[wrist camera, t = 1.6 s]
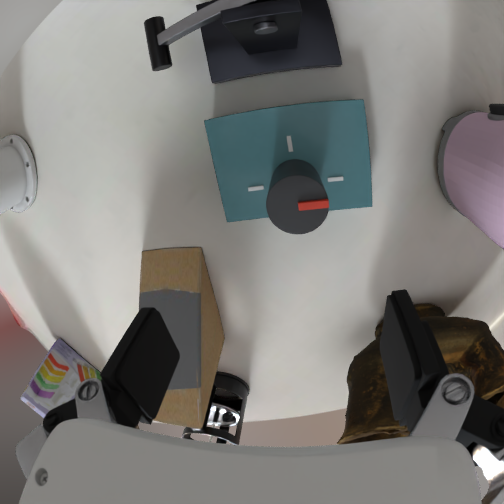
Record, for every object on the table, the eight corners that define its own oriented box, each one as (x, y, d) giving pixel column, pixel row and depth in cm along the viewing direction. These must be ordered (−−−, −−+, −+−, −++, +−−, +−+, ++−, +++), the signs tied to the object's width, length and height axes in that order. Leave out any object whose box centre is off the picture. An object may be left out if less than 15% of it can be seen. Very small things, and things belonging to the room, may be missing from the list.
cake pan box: (125, 390, 54) (97, 452, 38) (116, 393, 56) (89, 451, 40) (61, 335, 48) (20, 394, 32) (55, 341, 49) (17, 396, 34)
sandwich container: (203, 245, 32) (152, 340, 19) (227, 339, 39) (203, 430, 26) (140, 250, 34) (74, 330, 21) (173, 337, 41) (138, 418, 28)
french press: (255, 401, 47) (238, 513, 27) (209, 401, 49) (182, 504, 30) (238, 364, 42) (209, 501, 22) (186, 365, 44) (144, 486, 24)
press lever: (167, 70, 20) (145, 72, 18) (158, 24, 17) (136, 24, 16) (294, 22, 13) (274, 15, 11) (278, -35, 10) (257, -46, 9)
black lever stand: (215, 83, 23) (165, 71, 13) (199, 8, 19) (147, -36, 9) (339, 66, 21) (375, 40, 11) (320, -11, 17) (337, -70, 7)
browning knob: (275, 208, 26) (270, 239, 20) (267, 162, 24) (260, 180, 18) (322, 203, 25) (331, 233, 20) (317, 156, 23) (326, 172, 17)
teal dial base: (235, 222, 30) (229, 235, 28) (212, 118, 25) (203, 120, 22) (365, 208, 28) (373, 220, 25) (355, 100, 22) (364, 99, 20)
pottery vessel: (485, 276, 29) (552, 380, 12) (473, 329, 34) (516, 425, 17) (324, 320, 36) (334, 465, 18) (334, 368, 40) (340, 485, 23)
